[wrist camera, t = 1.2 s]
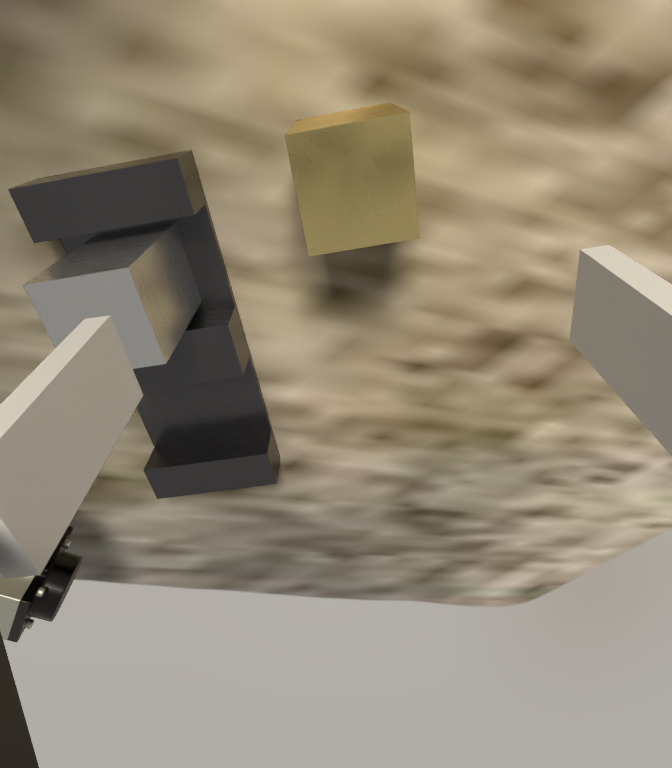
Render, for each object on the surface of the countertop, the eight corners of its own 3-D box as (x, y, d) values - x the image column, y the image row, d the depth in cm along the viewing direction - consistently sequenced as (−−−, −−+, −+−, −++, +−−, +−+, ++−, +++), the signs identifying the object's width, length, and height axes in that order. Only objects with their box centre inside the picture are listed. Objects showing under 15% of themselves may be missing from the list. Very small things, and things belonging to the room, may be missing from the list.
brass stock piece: (296, 119, 27) (284, 135, 20) (390, 102, 27) (409, 112, 20) (314, 214, 30) (308, 256, 23) (399, 199, 29) (419, 238, 22)
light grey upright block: (93, 236, 30) (22, 285, 23) (175, 222, 29) (128, 267, 22) (126, 313, 32) (71, 378, 25) (201, 301, 32) (165, 364, 25)
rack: (37, 178, 28) (8, 189, 26) (191, 150, 28) (177, 157, 25) (168, 471, 40) (157, 498, 37) (280, 456, 39) (276, 483, 36)
